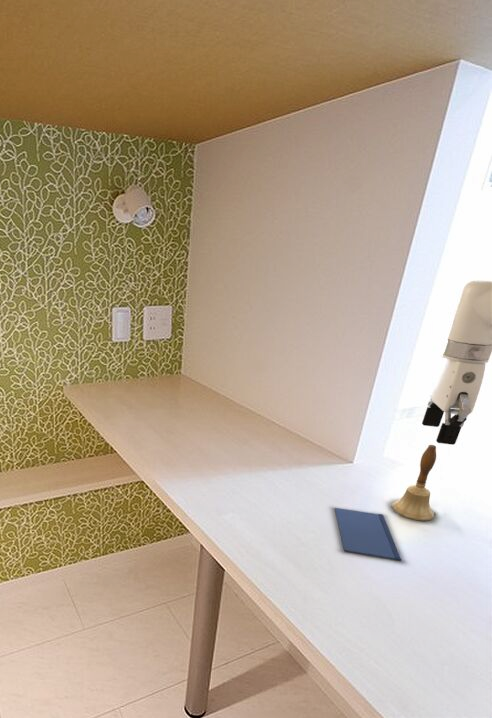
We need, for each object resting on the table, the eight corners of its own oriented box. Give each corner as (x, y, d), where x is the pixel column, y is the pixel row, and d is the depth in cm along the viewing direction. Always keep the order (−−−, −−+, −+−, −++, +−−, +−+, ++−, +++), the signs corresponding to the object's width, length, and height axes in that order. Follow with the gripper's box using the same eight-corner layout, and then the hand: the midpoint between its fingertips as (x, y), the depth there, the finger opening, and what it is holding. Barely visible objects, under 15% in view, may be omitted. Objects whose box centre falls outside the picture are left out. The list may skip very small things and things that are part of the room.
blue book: (382, 516, 96) (383, 514, 96) (400, 560, 82) (401, 558, 82) (334, 508, 98) (335, 507, 98) (344, 551, 84) (344, 549, 84)
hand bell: (389, 512, 97) (409, 447, 90) (394, 497, 103) (413, 435, 96) (432, 525, 93) (456, 458, 86) (435, 508, 99) (458, 444, 92)
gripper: (510, 363, 74) (474, 453, 81) (471, 343, 89) (443, 421, 96) (460, 359, 76) (429, 448, 83) (430, 341, 91) (406, 417, 98)
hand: (437, 434), depth 90 cm, fingers open, 9 cm apart
